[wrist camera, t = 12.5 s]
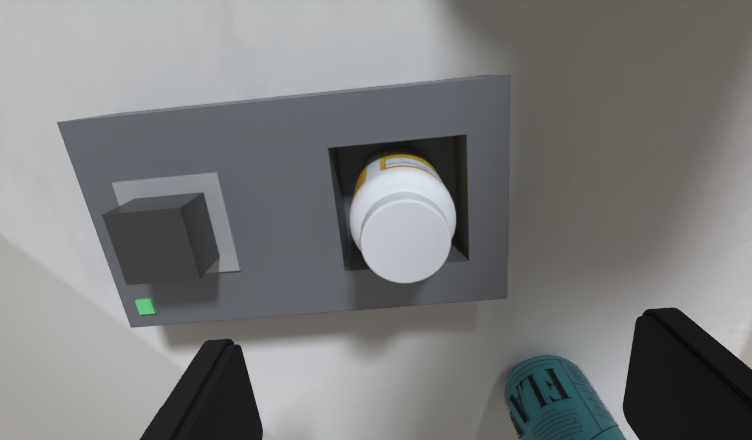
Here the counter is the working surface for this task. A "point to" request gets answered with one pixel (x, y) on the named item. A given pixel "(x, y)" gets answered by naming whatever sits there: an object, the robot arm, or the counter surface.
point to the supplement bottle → (402, 216)
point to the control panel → (288, 198)
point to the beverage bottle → (556, 403)
